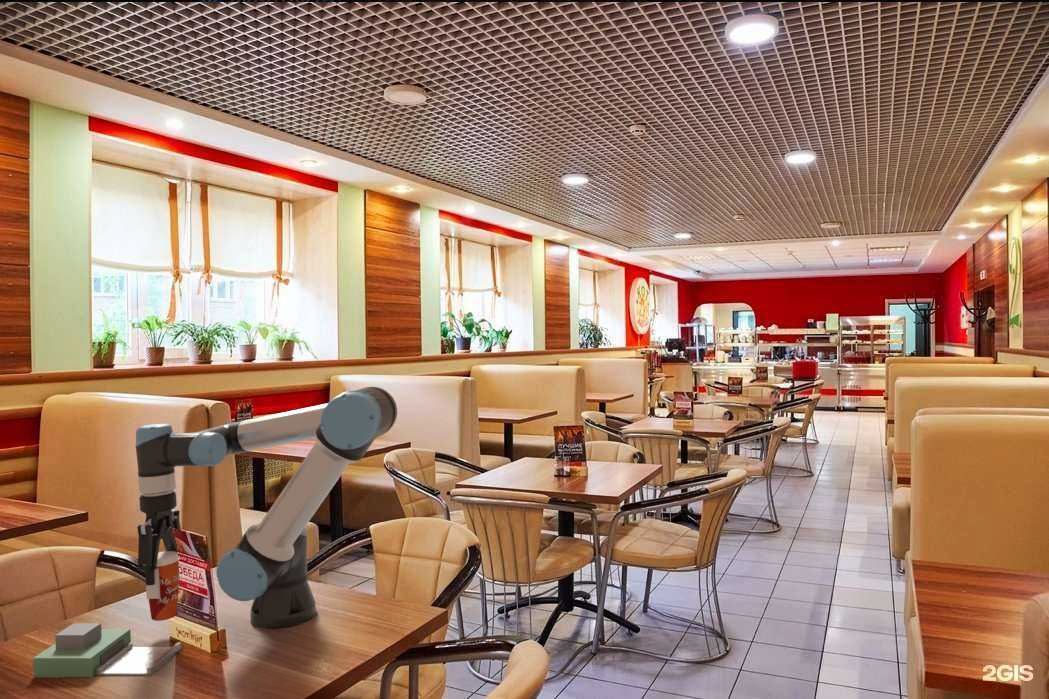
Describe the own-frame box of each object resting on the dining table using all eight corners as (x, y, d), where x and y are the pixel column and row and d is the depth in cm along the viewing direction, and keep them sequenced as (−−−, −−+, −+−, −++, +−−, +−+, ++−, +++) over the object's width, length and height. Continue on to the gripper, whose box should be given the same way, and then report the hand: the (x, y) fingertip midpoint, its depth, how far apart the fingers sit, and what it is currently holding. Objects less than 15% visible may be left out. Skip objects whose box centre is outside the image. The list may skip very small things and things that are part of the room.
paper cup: (168, 623, 164) (164, 561, 164) (138, 621, 166) (134, 560, 165) (191, 609, 172) (187, 550, 171) (162, 608, 173) (158, 549, 173)
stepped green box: (132, 646, 163) (130, 615, 163) (92, 677, 149) (91, 643, 149) (78, 646, 164) (77, 615, 163) (33, 677, 150) (32, 643, 149)
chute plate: (180, 648, 162) (180, 642, 162) (150, 675, 150) (150, 668, 150) (129, 648, 162) (129, 642, 162) (95, 675, 150) (95, 668, 150)
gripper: (165, 482, 178) (171, 575, 179) (114, 504, 157) (121, 609, 158) (195, 481, 178) (201, 574, 179) (148, 503, 157) (155, 608, 158)
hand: (163, 590), depth 168 cm, fingers closed on paper cup, 8 cm apart
